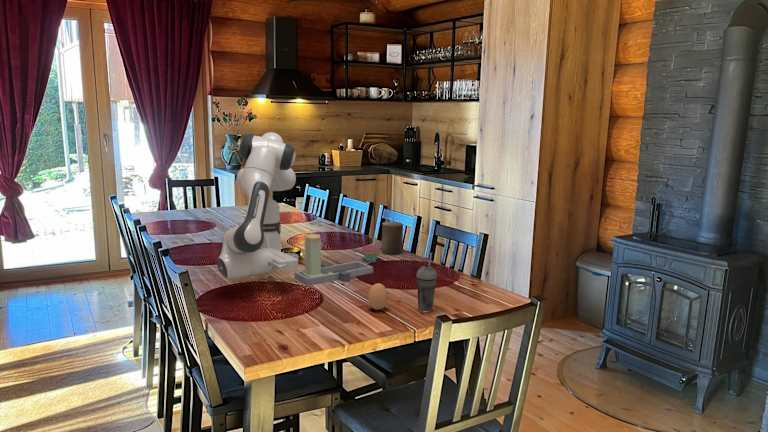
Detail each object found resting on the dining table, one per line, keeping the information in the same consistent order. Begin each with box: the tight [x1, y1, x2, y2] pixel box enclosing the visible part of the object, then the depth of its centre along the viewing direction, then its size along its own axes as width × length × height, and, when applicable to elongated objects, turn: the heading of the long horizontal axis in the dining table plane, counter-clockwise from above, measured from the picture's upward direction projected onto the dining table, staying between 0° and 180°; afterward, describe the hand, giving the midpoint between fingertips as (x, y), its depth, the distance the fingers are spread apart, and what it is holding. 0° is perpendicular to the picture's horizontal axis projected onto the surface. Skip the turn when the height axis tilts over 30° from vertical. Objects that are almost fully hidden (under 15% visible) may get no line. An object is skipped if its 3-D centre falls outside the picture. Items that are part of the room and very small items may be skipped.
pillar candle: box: [381, 221, 404, 256], centre depth 264 cm, size 10×10×15 cm
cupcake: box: [360, 234, 382, 263], centre depth 250 cm, size 9×8×12 cm
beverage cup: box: [415, 252, 438, 312], centre depth 191 cm, size 7×7×20 cm
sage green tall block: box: [302, 233, 325, 278], centre depth 220 cm, size 6×7×17 cm
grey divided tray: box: [293, 260, 374, 286], centre depth 228 cm, size 30×18×3 cm, turn 128°
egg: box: [367, 282, 389, 311], centre depth 191 cm, size 7×7×9 cm
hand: (296, 256), depth 215 cm, fingers closed
